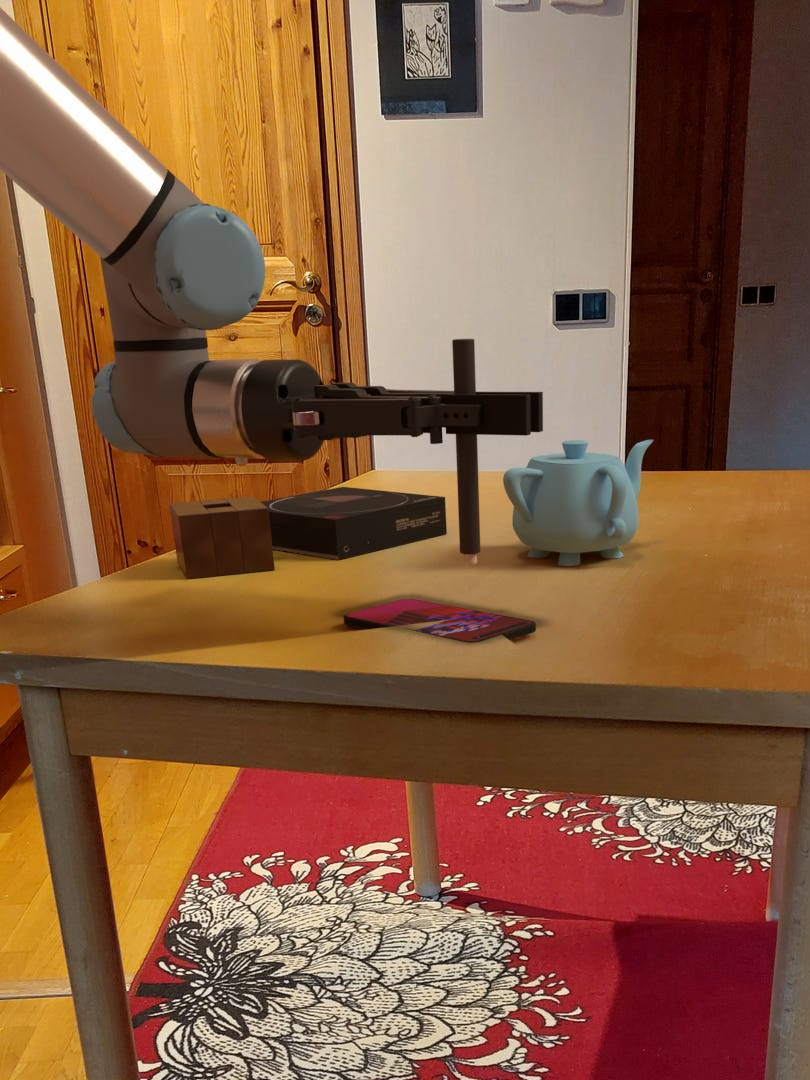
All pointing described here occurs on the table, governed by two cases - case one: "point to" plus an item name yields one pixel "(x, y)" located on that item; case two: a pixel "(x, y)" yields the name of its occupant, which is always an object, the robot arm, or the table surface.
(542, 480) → the teapot
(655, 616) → the table surface
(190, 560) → the pen stand
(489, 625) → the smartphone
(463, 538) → the stylus
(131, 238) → the robot arm
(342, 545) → the portable cd player
